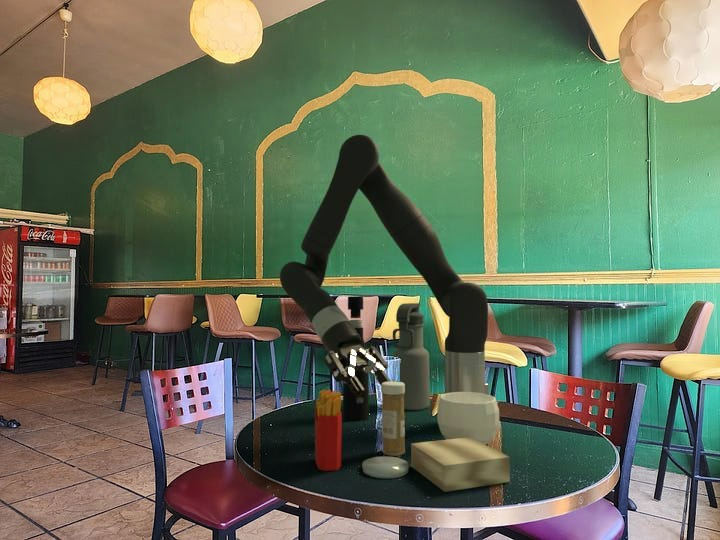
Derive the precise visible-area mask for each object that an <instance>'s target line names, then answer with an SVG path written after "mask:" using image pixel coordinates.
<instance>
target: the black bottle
mask: <svg viewBox="0 0 720 540" xmlns="http://www.w3.org/2000/svg"><path fill="white" fill-rule="evenodd" d="M347 310H349V311H350V316H349V317H350V319H349V321H350V322H351V324H352V325H353V327H354V328H355V329H356V331H357V332H358V334H359V335H360V337H361V345H362V347H364V348H365V349H366V350H367V349H368V348H367V345H366V343H365V339H364V328H363V324H362V323H363V320H362V319H361V318H362V317H361V311H363V310H364V296H347ZM369 363H370V361H368V364H367V366H369ZM369 374H370V373H366V372H364V371H363V370H361V371H359V370H357V371H355V372H354V376H356V377H357V379H358V380H359V382H360V383H361V385H362V386H363V388H364V390H365V393H364V394H363V395H362V396H361V397H359V398H357V397H356V396H355V395H354V394H353V393H352V391H351V389H350V388H349V386H348V385H347V384H346V383H344V382H343V381H342V420H345V421H349V422H350V421H351V422H361V420H362V421H366V420H368V419H369V418H370V416H369V415H370V411H369V409H370V403H369V402H370V401H369V400H370V399H369V397H370V395H369V394H370V393H369V390H370V388H369V387H370V385H369V384H370V382H369V378H370V377H369V376H370V375H369ZM354 376H353V377H354Z"/></svg>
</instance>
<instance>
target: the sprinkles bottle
mask: <svg viewBox="0 0 720 540" xmlns="http://www.w3.org/2000/svg"><path fill="white" fill-rule="evenodd" d="M380 387H381V389H380V390H381V395H382V396H381V397H382V398H381V399H382V401H381V407H382V408H381V434H382V436H381V437H382V449H381V452H382V453H383V454H384V455H385V456H388V457H399V456H402V455H404V454H405V453H406V449H405V448H406V446H405V442H406V441H405V435H406V431H405V430H406V427H405V410H404V393H405V384H404V383H403V382H397V381H394V380H393V381H392V380H391V381H388V382H383V383H382V384H381V385H380Z"/></svg>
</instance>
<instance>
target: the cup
mask: <svg viewBox="0 0 720 540" xmlns="http://www.w3.org/2000/svg"><path fill="white" fill-rule="evenodd" d="M436 412H437V413H436V414H437V416H436V417H437V424H438V428H439V431H440V433H441V435H442V436H443V438H444V440H447V439H456V438H464V437H471V438H473V439H475V440H477V441H479V442H481V443H483V444H485V445H488V444H490V443H492V441H493V440H494V438H496V437H497V433H498V430H499V426H500V409H499V405H498V403H497V399H496V397H495V396H492V395H490V394H489V395H487V394H482V393H474V392H452V393H446V394H445V393H442V394H440V395H439V400H438V403H437V409H436Z"/></svg>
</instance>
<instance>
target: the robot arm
mask: <svg viewBox="0 0 720 540" xmlns="http://www.w3.org/2000/svg"><path fill="white" fill-rule="evenodd" d="M379 158H380V152H379V147H378V146H377V144H376V142H375V141H374V140H373V139H372V138H371V137H369V136H368V135H365V134H354V135H352V136H350V137H348V138H347V139H346V140H345V141H344V142H343V143H342V144H341V146H340V149H339V153H338V158H337V163H336V167H335V169H334V173H333V175H332V178H331V181H330V183H329V187H327V190H326V193H325V195H324V197H323V199H322V202H321V203H320V205H319V207H318V208H317V210H316V213H315V215H314V217H313V219H312V220H311V223H310V224H309V227H308V229H307V231H306V233H305V235H304V237H303V238H302V240H301V241H302V242H301V245H300V248H301V251H302V252H304V253H305V254H306V256H305V262H304V263H302V262H298V261H288V262H287V263H285V264H284V265H282V267H281V269H280V272H279V281H280V285H281V287H282V289H283V290H284V291H285V293H286V295H288V296H289V298H290V299H291V300H293V302H294V303H295V304H297V306H298V307H300V309H301V310H302V311H303V312H304V314H305V315H306V317H307V319H308V320H309V322H310V324H311V325H312V327H313V329H314V331H315V333H316V335H317V337H318V338H319V340H320V342H321V344H322V345H323V346H324V347H325V350H326V351H327V352H328V353H327V355H326V356H325V357H324V359H323V362H325V365H326V366H327V369H328V370H329V372H330V374H331V375H332V377H333V379H334V381H335V382H336V383H340V382H342V383H343V382H344V383H346V384H347V385H348V386H349V388H350V389H351V391H352V393H353V394H354V395H355V396H356V397H357V398H359V397H361V396H362V395H363V394H364V393H365V390H364V388H363V386H362V385H361V383H360V382H359V380H358V379H357V377H356V376H354V372H355V371H357V370H359V371H361V370H363V371H364V372H366V373H369V374H371V375H372V376H373V377H375V379H376V381H377V383H378V384H379V385H380V386H381V384H382V383H383V382H388V381H392V380H391V379H390V377H389V376H388V375H387V373H386V370H387V369H388V368H389V364H388V363H387V361H386V360H385V359H384V358H383V356H382V355H381V354H380V352H379V351H378V350H377V348H376V346H373V345H371V346H370V347H369V348H366V349H367V350H366V349H365V348H364V347H362V345H361V337H360V335H359V334H358V332H357V331H356V329H355V328H354V327H353V325H352V324H351V322H350V319H349V318H348V316H347V314H346V313H345V312H344V311H343V310H342V309H341V308H340V307H339V306H338V304H337V302H336V301H335V300H334V298H333V297H332V295H331V294H330V293H328V291H327V290H325V289H323V288H322V285H323V283H324V280H325V277H326V272H327V268H328V262H329V256H330V253H331V252H332V249H333V248H334V246H335V243H336V241H337V240H338V238H339V235H340V232H342V231H341V230H342V228H343V225H344V223H345V220H346V218H347V214H348V213H349V210H350V207H351V205H352V203H353V201H354V199H355V197H356V195H357V193H358V191H360V192H361V193H362V194H363V196H365V198H366V199H367V200H368V201H369V203H370V205H371V207H372V208H373V210H374V212H375V214H376V215H377V216H378V218H379V220H380V222H381V224H382V225H383V226H384V228H385V230H386V232H387V233H388V234H389V236H390V237H391V239H392V240H393V242H394V243H395V244H396V245H397V247H398V248H399V250H400V251H401V253H403V254H404V256H405V257H406V259H407V260H408V261H409V263H410V264H411V265H412V267H414V269H415V270H416V272H418V273H419V275H420V276H421V277H422V278H423V280H424V281H425V282H426V284H427V286H428V288H429V289H430V291H431V292H432V293H431V294H432V295H433V296H434V298H435V299H436V302H437V303H438V306H440V308H441V310H442V312H444V314H445V315H446V316H447V317H448V318H449V319H448V332H447V336H446V337H445V339H444V387H445V388H444V394H446V393H452V392H474V393H482V394H487V395H490V385H489V384H488V382H487V383H486V362H485V361H486V358H485V356H486V355H485V353H486V352H485V349H486V348H485V347H486V341H487V340H488V339H487V338H488V331H489V328H488V327H489V303H488V302H489V301H488V297H487V293H486V291H484V289H483V287H481V286H480V285H478V284H476V283H474V282H465V281H464V280H463V279H462V278H461V277H460V275H458V274H457V272H456V270H454V268H453V267H452V265H450V263H449V261H448V259H447V257H446V255H445V252H444V250H443V247H442V245H441V242H440V239H439V237H438V235H437V232H436V231H435V229H434V228H433V226H432V225H431V223H430V221H428V219H427V218H426V216H425V215H424V214H423V212H422V210H420V209H419V207H418V206H417V205H416V204H415V203H414V201H412V200H411V199H410V198H409V197H408V196H407V195H406V194H405V193H403V192H402V190H400V189H399V188H398V187H397V186H396V185H395V184H394V181H392V179H391V178H390V176H389V175H388V173H387V172H386V170H385V168H384V167H383V165H382V163H381V162H380V160H379ZM368 361H369V363H370V364H369V366H367V364H368ZM374 368H375V369H374ZM353 376H354V377H353Z"/></svg>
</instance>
